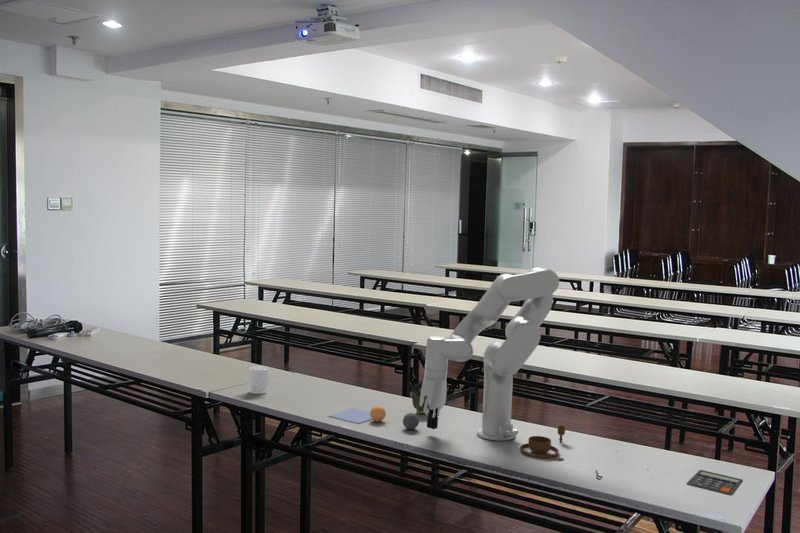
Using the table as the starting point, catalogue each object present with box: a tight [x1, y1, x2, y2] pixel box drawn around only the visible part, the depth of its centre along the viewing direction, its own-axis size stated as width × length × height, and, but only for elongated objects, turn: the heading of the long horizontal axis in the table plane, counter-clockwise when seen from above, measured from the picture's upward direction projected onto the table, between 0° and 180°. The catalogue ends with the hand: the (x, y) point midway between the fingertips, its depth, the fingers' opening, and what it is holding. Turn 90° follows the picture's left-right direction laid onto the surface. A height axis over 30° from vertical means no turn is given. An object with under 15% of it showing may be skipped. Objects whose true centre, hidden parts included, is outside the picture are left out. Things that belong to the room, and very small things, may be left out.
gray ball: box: [402, 412, 420, 431], centre depth 237 cm, size 6×6×6 cm
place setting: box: [519, 425, 566, 462], centre depth 219 cm, size 18×20×6 cm
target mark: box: [328, 407, 373, 425], centre depth 251 cm, size 14×14×1 cm
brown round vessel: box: [411, 389, 426, 415], centre depth 257 cm, size 8×7×8 cm
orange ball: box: [369, 405, 387, 423], centre depth 245 cm, size 6×6×6 cm
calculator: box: [686, 469, 743, 496], centre depth 197 cm, size 12×1×15 cm
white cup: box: [248, 365, 270, 395], centre depth 280 cm, size 8×8×10 cm
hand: (432, 427), depth 231 cm, fingers closed
